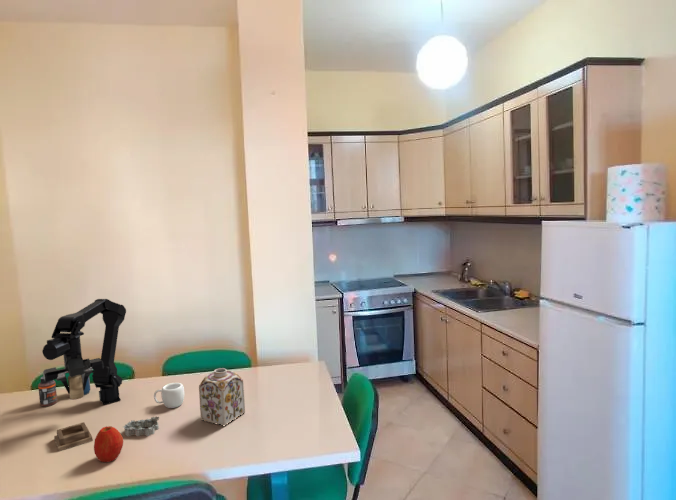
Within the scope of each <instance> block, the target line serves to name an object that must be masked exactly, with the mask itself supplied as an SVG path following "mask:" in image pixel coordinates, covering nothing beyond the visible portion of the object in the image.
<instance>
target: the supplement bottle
mask: <svg viewBox="0 0 676 500" xmlns="http://www.w3.org/2000/svg"><path fill="white" fill-rule="evenodd" d="M39 379H40V382H39V383H38V384H37V387H38V396H39V397H38V398H39V405H40V407H51V406H53V405H55V404H57V403H58V394H57V386H56V381H55V380H50V381H45V379H44V376H41V377H40V378H39Z"/></svg>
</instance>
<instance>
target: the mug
mask: <svg viewBox="0 0 676 500" xmlns="http://www.w3.org/2000/svg"><path fill="white" fill-rule="evenodd" d="M158 392H160V393H161V401H158V399H157V393H158ZM153 398H154V402H155V403H157V404H163V405H164V406H165V408H168V409H175V408H178V407H180V406H181V405H182V404H183V402H184V400H185V388H184V385H183V383H180V382H171V383H167V384H166V385H163V386H162V388H161V389H157V390H155V392H154V394H153Z"/></svg>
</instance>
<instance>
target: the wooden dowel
mask: <svg viewBox="0 0 676 500" xmlns="http://www.w3.org/2000/svg"><path fill="white" fill-rule="evenodd" d="M67 383H68V387H69V391H70V394H68V395H69V400H71V401H72V400H79V399H82V398H84V397H85V395H84V391H83V381H82V375H76V376H74V377H70V376H69V375H68V376H67Z"/></svg>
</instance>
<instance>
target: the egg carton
mask: <svg viewBox="0 0 676 500" xmlns="http://www.w3.org/2000/svg"><path fill="white" fill-rule="evenodd" d="M159 419H160V417H159V416H153V417H150V418H146V419H138V420H130V421H128V422H127V423H126V424H124V426H122V428H124V435H126V437H130V436H133V435H135V437H140V436H142V435H145V436H146V437H149V436H151V435H154V434H155V431H157V430H158V429H159V428H160V425H159V422H158V421H159ZM146 427H147V428H146Z"/></svg>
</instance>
